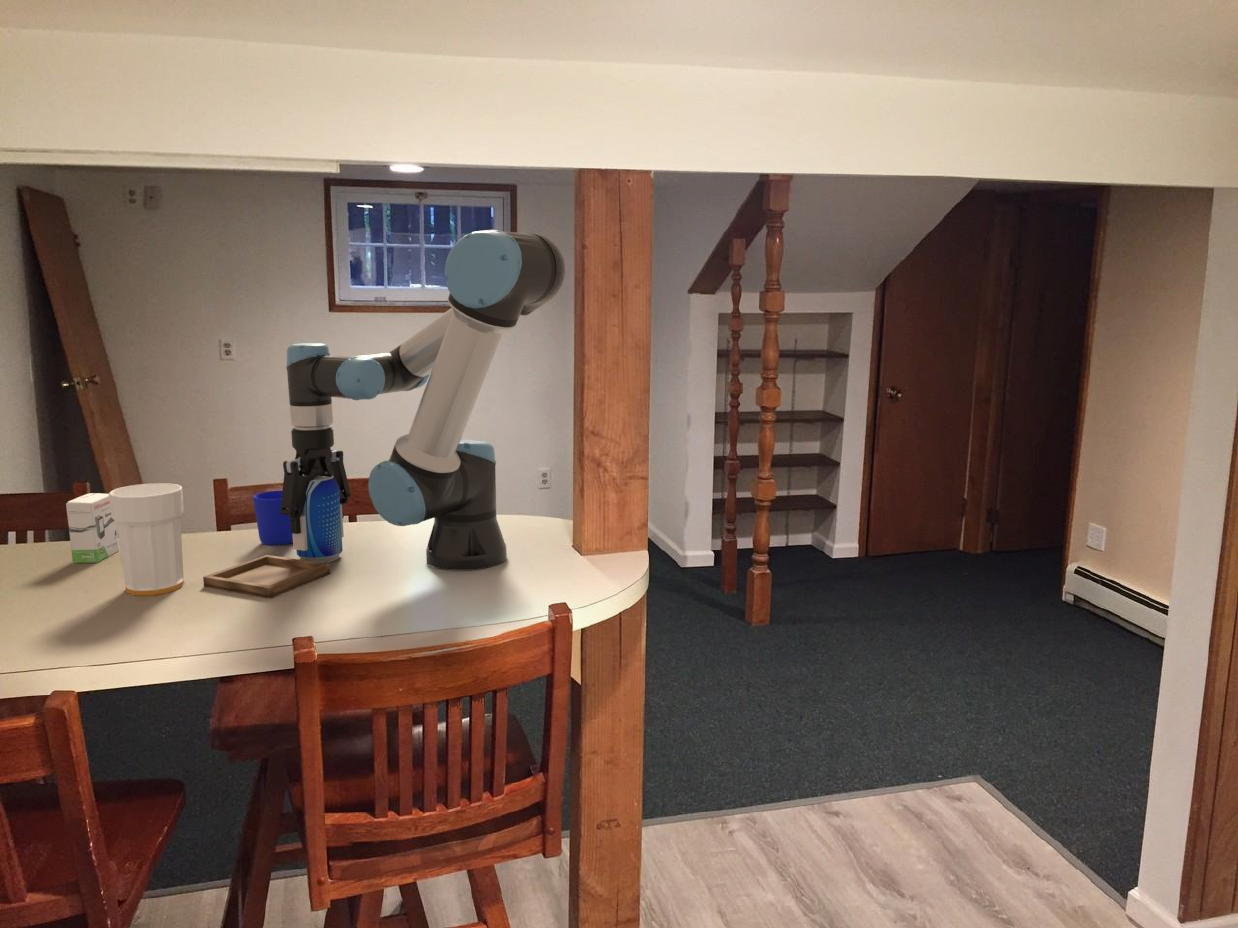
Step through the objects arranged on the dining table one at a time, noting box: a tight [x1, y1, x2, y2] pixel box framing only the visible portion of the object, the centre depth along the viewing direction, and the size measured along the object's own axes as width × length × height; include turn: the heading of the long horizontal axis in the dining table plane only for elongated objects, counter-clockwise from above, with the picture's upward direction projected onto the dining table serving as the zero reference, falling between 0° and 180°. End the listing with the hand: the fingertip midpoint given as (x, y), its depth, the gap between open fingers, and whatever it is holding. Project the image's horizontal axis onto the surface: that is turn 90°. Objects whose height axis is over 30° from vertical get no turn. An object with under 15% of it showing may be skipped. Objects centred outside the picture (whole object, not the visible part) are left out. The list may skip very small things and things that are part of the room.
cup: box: [108, 482, 185, 597], centre depth 168 cm, size 11×11×17 cm
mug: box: [252, 490, 293, 547], centre depth 199 cm, size 8×12×10 cm
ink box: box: [65, 492, 120, 564], centre depth 187 cm, size 9×5×12 cm, turn 0°
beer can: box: [295, 475, 343, 564], centre depth 185 cm, size 8×8×16 cm
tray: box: [202, 554, 331, 599], centre depth 173 cm, size 15×15×2 cm
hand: (319, 542), depth 186 cm, fingers open, 9 cm apart
